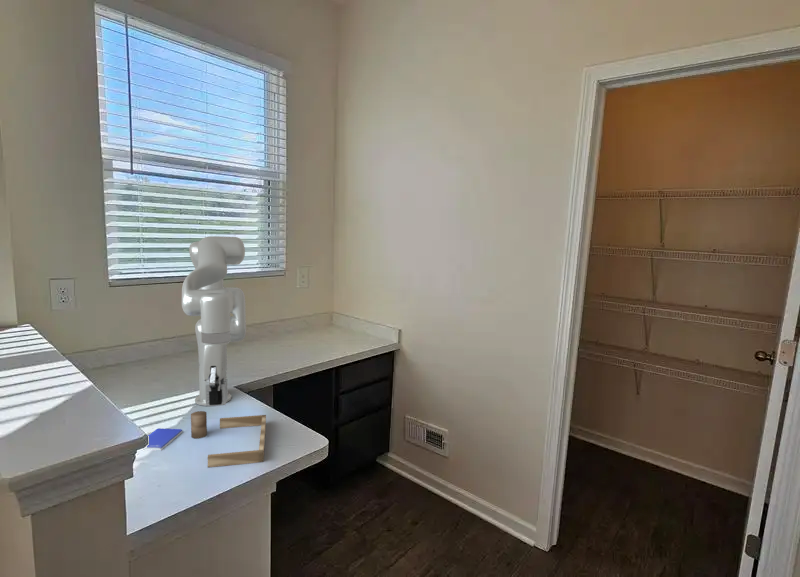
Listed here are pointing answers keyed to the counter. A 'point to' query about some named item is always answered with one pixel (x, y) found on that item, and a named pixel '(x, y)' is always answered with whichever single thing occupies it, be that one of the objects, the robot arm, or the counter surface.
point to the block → (223, 388)
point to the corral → (244, 456)
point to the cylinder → (198, 424)
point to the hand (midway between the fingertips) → (217, 400)
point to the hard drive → (162, 438)
